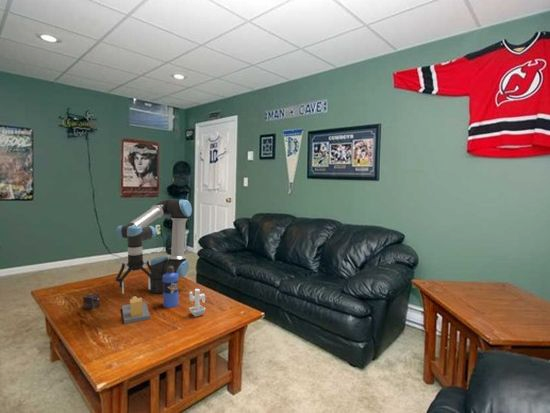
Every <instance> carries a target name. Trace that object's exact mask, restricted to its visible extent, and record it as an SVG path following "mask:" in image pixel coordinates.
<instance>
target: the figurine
mask: <svg viewBox="0 0 550 413" xmlns="http://www.w3.org/2000/svg"><path fill="white" fill-rule="evenodd" d="M188 294H189V296H188V297H189V299H188V300H189V301H190V302H194V306H192V307H190V306H189V307H188V309H189V311H190V313H191V315H192V316H194V317H201V316H203V315H204V313H205V311H206V310H207V308H206V307H204V306H203V305H201V303H200V300H201V302H202V303H203V304H204V303H205V302H206V295H205V293H201V289H199V288H195V289H194V294H193V292H192V291H189V293H188Z"/></svg>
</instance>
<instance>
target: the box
mask: <svg viewBox="0 0 550 413" xmlns="http://www.w3.org/2000/svg"><path fill="white" fill-rule="evenodd" d="M82 300H83V301H82V303H83V309H84V308H86V309H85V310H94V309H95V307H96V308H98V307H100V294H97V293H89V294H87V295H85V296H83V297H82ZM97 306H98V307H97ZM93 308H94V309H93Z"/></svg>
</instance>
